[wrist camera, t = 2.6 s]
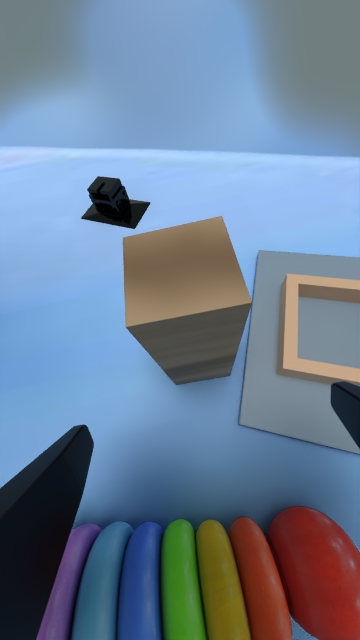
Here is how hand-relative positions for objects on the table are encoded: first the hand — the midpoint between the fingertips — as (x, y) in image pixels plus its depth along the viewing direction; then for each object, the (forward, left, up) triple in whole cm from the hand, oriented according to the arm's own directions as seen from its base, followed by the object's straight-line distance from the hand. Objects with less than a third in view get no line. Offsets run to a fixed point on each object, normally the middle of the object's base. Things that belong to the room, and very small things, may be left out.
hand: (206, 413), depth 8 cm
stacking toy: (+3, +15, -8) cm, 17 cm away
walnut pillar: (+4, -4, -12) cm, 13 cm away
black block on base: (+27, -16, -12) cm, 34 cm away
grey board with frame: (-5, -12, -12) cm, 18 cm away
